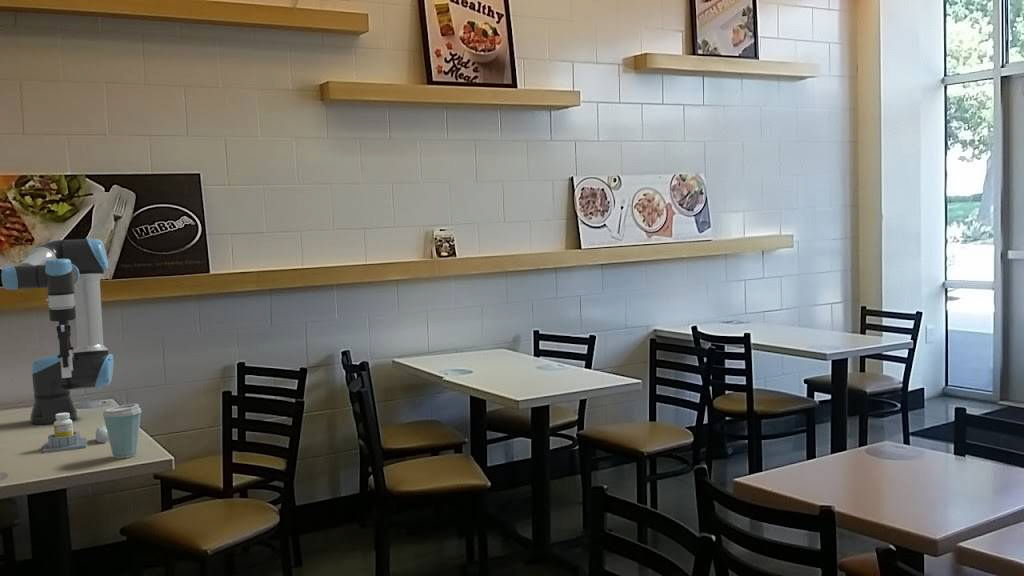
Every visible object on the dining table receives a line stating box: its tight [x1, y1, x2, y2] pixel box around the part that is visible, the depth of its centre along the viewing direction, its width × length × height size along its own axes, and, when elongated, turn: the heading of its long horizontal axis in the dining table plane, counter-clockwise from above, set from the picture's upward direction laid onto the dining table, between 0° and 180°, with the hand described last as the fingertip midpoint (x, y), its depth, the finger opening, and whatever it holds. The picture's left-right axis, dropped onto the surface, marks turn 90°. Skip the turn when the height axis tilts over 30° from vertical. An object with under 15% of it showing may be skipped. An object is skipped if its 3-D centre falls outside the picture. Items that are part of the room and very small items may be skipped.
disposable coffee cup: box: [102, 403, 142, 459], centre depth 281 cm, size 11×11×15 cm
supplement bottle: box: [53, 413, 74, 437], centre depth 298 cm, size 5×5×10 cm
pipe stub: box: [95, 425, 109, 444], centre depth 304 cm, size 8×4×4 cm, turn 24°
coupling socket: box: [42, 430, 87, 454], centre depth 298 cm, size 12×12×4 cm
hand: (67, 374), depth 303 cm, fingers open, 13 cm apart
